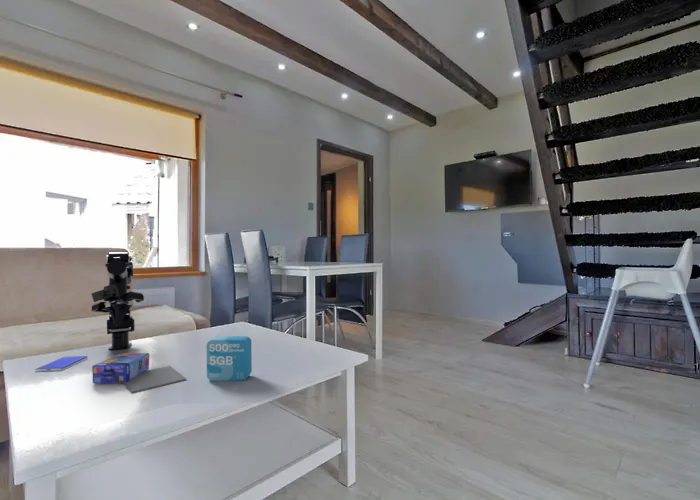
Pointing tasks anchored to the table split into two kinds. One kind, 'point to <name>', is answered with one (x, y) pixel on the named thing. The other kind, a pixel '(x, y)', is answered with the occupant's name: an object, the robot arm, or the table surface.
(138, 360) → the ink cartridge box
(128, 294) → the robot arm
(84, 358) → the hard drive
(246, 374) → the data package
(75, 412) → the table surface
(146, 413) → the table surface
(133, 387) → the mat
